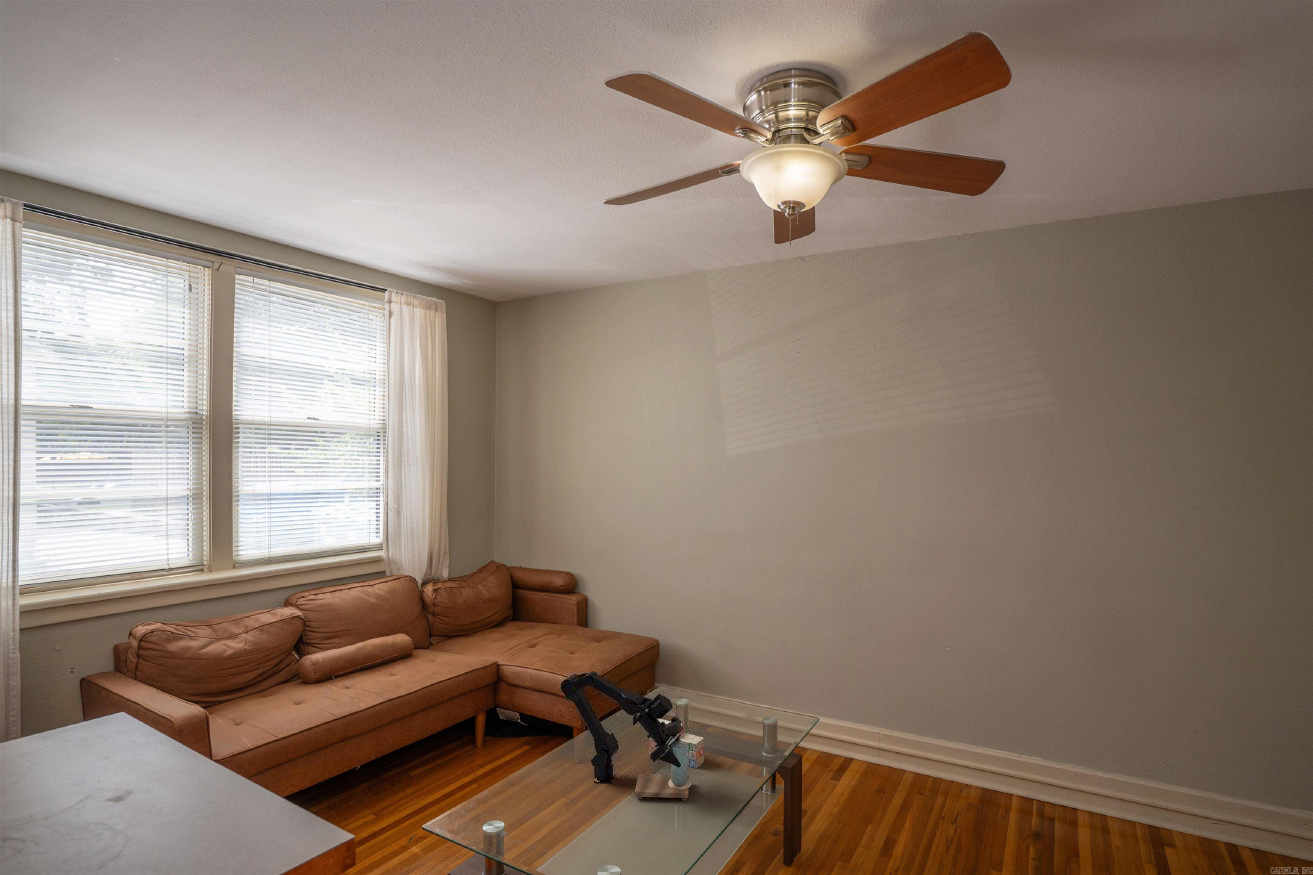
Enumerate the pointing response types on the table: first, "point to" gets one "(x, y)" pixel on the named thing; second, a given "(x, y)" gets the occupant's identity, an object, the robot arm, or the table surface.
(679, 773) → the light blue rounded piece
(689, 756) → the stack of blocks
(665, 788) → the plate
